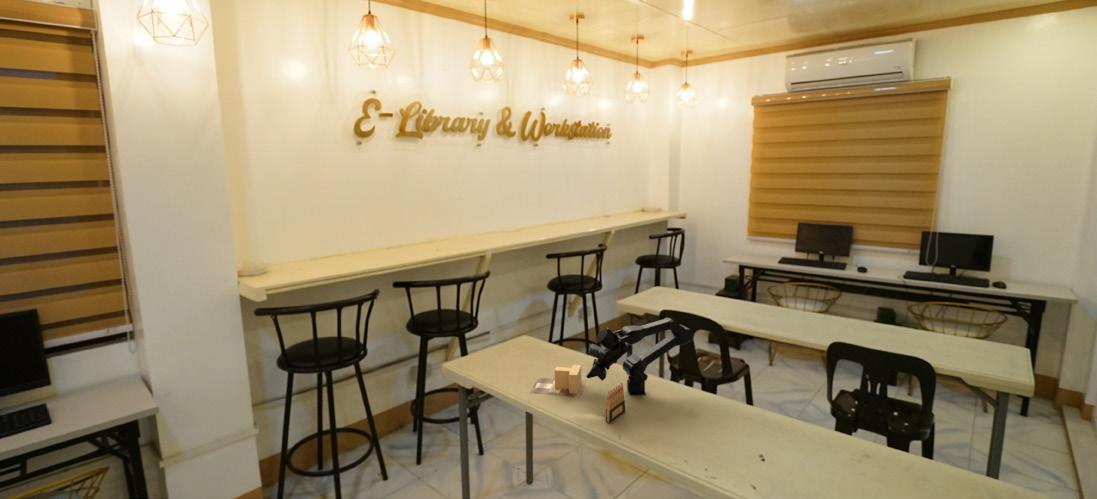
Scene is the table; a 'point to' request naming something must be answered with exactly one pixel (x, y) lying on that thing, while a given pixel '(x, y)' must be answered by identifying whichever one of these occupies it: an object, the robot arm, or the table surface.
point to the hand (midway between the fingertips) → (587, 377)
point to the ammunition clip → (615, 404)
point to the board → (553, 388)
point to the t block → (568, 378)
